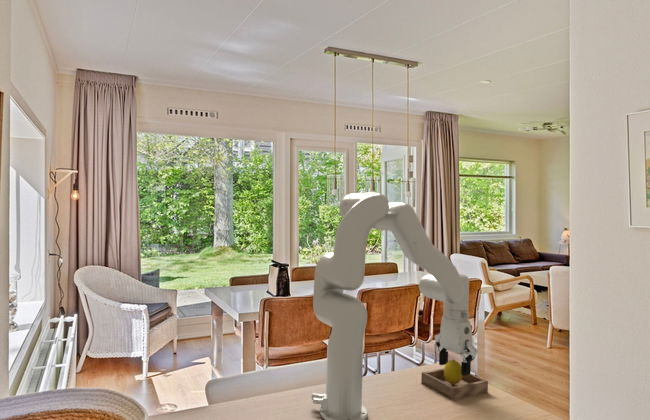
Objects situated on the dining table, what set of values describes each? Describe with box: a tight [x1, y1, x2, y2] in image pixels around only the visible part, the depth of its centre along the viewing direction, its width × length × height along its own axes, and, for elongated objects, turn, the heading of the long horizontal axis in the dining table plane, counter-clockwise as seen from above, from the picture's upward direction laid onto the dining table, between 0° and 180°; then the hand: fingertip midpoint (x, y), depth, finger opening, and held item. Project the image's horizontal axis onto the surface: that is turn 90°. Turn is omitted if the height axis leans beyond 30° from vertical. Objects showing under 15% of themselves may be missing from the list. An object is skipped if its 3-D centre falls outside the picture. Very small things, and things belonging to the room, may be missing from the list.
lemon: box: [444, 359, 462, 385], centre depth 139 cm, size 6×6×8 cm
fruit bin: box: [420, 367, 489, 401], centre depth 139 cm, size 14×14×4 cm
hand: (454, 369), depth 139 cm, fingers open, 9 cm apart
